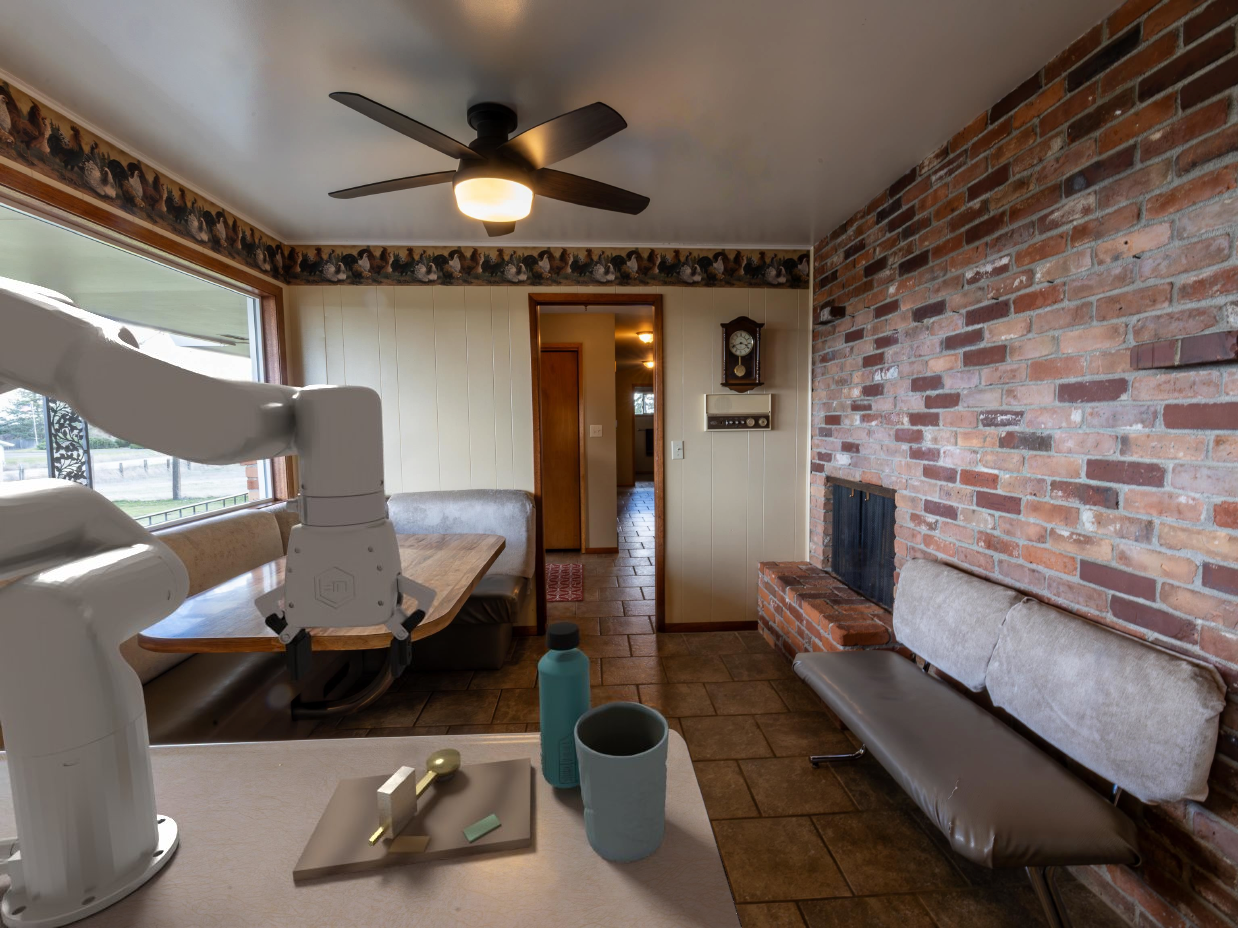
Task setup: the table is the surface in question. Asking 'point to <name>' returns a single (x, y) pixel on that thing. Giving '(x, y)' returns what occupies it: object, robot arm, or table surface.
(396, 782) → the gold and silver piece
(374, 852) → the cutting board
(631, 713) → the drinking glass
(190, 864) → the table surface
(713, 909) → the table surface
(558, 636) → the beverage bottle
